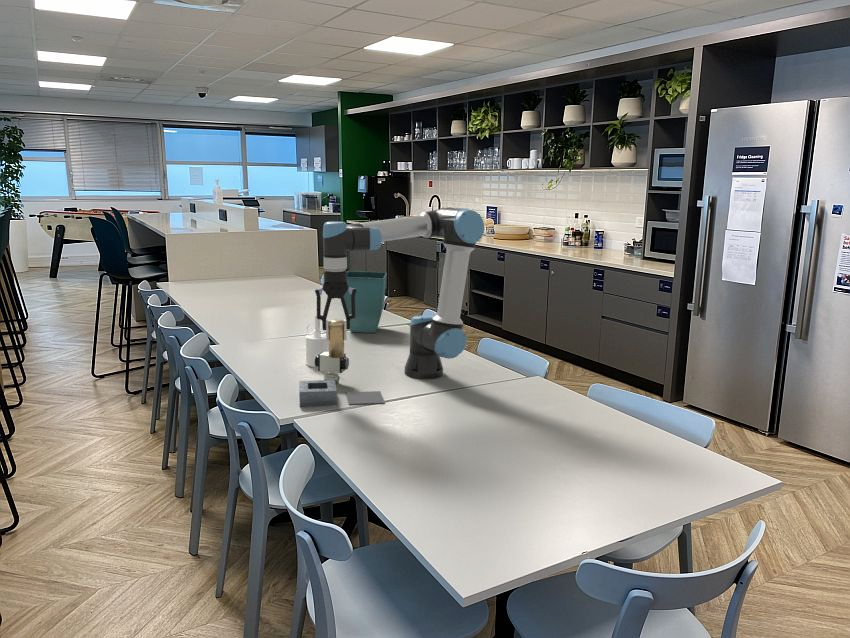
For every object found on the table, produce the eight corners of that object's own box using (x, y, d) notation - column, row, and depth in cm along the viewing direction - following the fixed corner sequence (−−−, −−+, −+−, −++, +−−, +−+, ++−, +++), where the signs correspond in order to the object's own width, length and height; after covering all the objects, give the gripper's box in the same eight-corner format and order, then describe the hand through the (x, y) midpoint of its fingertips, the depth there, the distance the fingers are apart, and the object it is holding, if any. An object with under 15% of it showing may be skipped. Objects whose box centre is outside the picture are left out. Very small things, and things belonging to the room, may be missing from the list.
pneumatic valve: (344, 386, 228) (345, 354, 226) (314, 383, 231) (314, 351, 228) (349, 381, 234) (350, 350, 231) (319, 378, 236) (319, 347, 234)
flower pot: (382, 335, 307) (383, 277, 301) (341, 333, 307) (342, 276, 301) (385, 326, 327) (387, 272, 321) (347, 325, 327) (347, 270, 321)
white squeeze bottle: (313, 368, 249) (313, 318, 244) (301, 363, 255) (300, 314, 251) (335, 364, 255) (336, 316, 251) (323, 359, 262) (323, 312, 258)
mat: (380, 392, 223) (380, 391, 223) (384, 403, 212) (384, 402, 211) (346, 393, 221) (346, 392, 221) (348, 404, 209) (348, 403, 209)
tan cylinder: (343, 353, 214) (343, 319, 212) (344, 357, 209) (344, 322, 207) (328, 354, 213) (327, 319, 211) (328, 358, 208) (328, 322, 206)
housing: (334, 393, 220) (334, 379, 219) (336, 405, 208) (336, 390, 207) (299, 394, 217) (299, 380, 216) (299, 406, 206) (299, 392, 205)
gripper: (362, 268, 210) (362, 335, 215) (306, 268, 207) (308, 337, 212) (364, 271, 203) (364, 341, 208) (306, 271, 200) (308, 343, 205)
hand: (336, 339), depth 210 cm, fingers closed on tan cylinder, 5 cm apart
